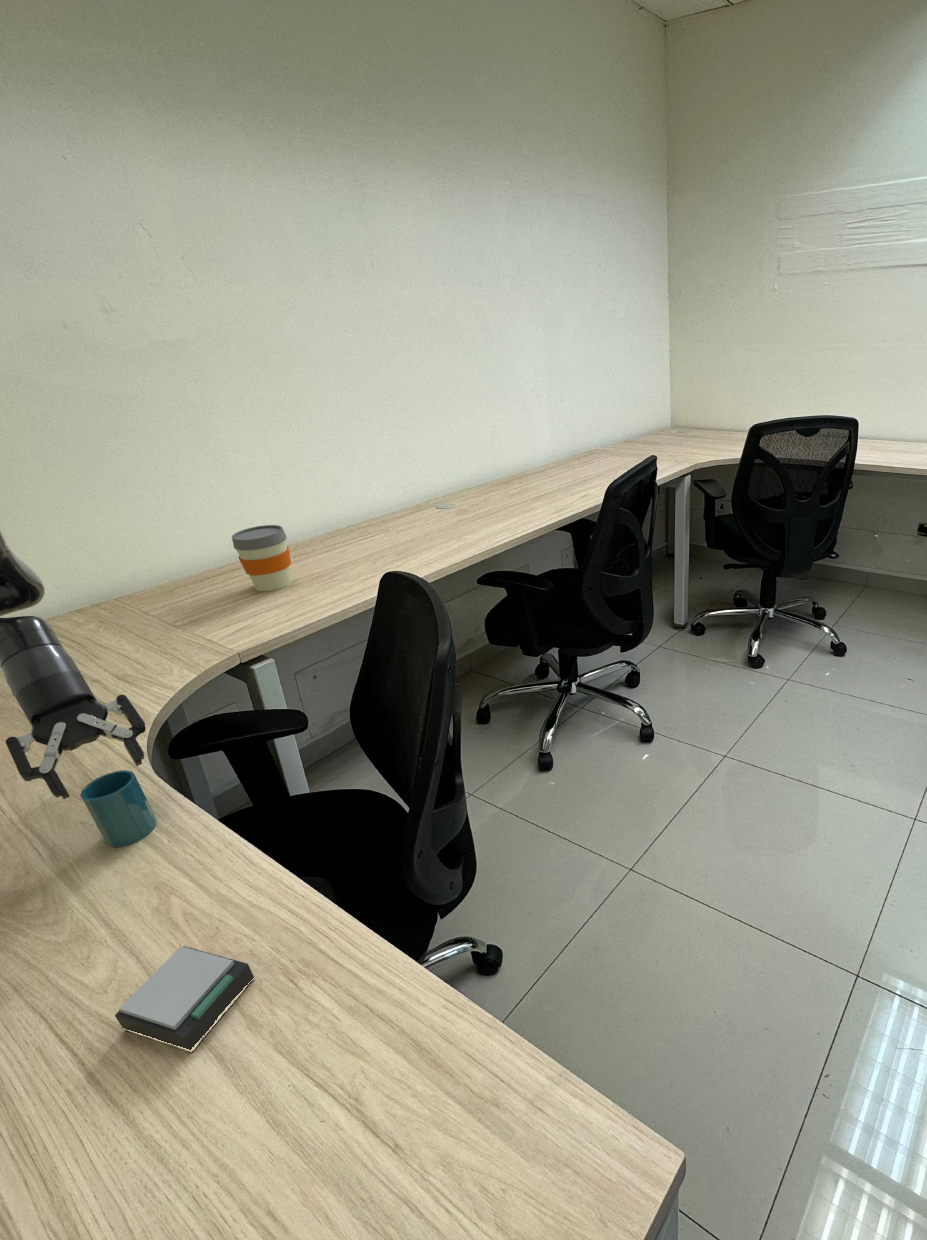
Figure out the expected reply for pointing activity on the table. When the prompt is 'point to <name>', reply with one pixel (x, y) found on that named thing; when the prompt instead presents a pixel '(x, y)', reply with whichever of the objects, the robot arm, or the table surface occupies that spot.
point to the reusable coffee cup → (264, 556)
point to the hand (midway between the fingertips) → (104, 779)
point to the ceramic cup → (119, 808)
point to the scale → (184, 997)
